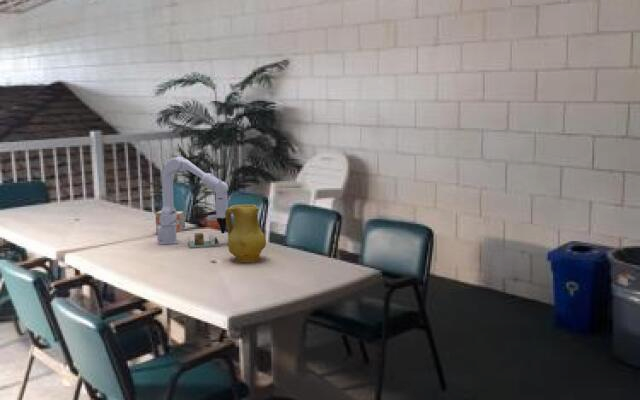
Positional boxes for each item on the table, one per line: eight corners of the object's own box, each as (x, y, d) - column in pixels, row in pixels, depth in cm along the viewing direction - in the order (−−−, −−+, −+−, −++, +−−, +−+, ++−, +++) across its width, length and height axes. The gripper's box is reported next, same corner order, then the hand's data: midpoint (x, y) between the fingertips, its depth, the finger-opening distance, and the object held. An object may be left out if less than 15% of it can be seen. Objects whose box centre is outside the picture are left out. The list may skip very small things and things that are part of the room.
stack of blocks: (175, 227, 370) (174, 205, 368) (185, 227, 369) (184, 206, 367) (156, 234, 350) (155, 212, 348) (166, 235, 348) (165, 212, 346)
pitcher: (235, 265, 284) (235, 208, 281) (221, 258, 300) (220, 204, 298) (272, 261, 292) (271, 206, 289) (256, 255, 308) (255, 202, 306)
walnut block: (195, 245, 322) (195, 235, 321) (194, 243, 326) (194, 233, 326) (203, 244, 323) (203, 234, 322) (202, 242, 327) (202, 232, 327)
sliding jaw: (210, 245, 321) (210, 239, 321) (209, 240, 331) (208, 235, 330) (218, 244, 322) (218, 238, 322) (216, 240, 332) (216, 234, 331)
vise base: (189, 248, 318) (189, 241, 317) (188, 243, 329) (187, 236, 329) (220, 246, 321) (220, 239, 321) (217, 241, 333) (217, 234, 332)
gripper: (207, 208, 319) (209, 235, 321) (237, 206, 323) (238, 233, 325) (206, 206, 326) (207, 232, 328) (235, 204, 329) (236, 230, 331)
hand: (222, 233), depth 327 cm, fingers closed
